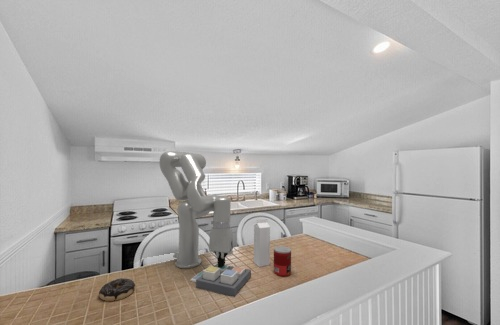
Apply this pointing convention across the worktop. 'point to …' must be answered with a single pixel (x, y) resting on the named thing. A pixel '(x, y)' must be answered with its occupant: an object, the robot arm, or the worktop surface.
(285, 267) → the canned food
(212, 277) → the key mustard
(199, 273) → the strip
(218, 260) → the robot arm
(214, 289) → the keypad
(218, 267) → the key teal
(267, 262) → the milk
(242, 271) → the key terracotta
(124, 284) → the donut
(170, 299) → the worktop surface
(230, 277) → the key slate
